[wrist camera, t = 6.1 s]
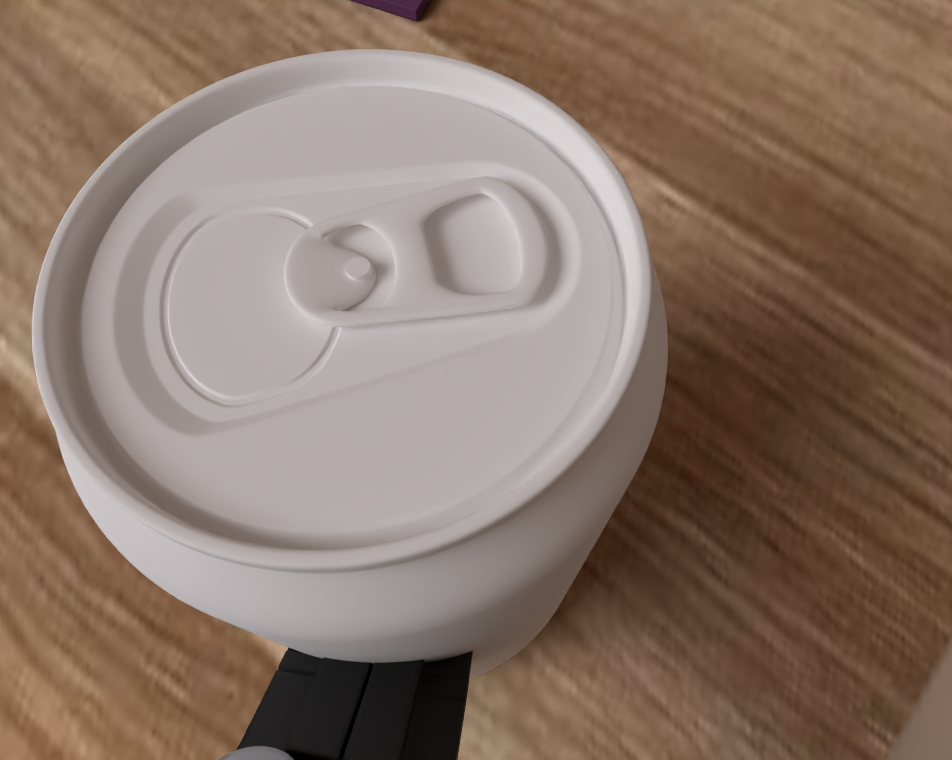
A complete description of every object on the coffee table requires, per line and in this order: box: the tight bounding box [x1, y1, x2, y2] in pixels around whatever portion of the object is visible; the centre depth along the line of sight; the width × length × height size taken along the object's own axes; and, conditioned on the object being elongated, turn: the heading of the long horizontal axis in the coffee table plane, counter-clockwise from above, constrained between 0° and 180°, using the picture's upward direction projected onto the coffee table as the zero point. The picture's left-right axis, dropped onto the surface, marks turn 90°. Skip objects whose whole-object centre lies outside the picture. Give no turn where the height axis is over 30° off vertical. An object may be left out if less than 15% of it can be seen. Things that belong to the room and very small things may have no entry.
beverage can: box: [32, 49, 668, 679], centre depth 14 cm, size 8×8×12 cm
